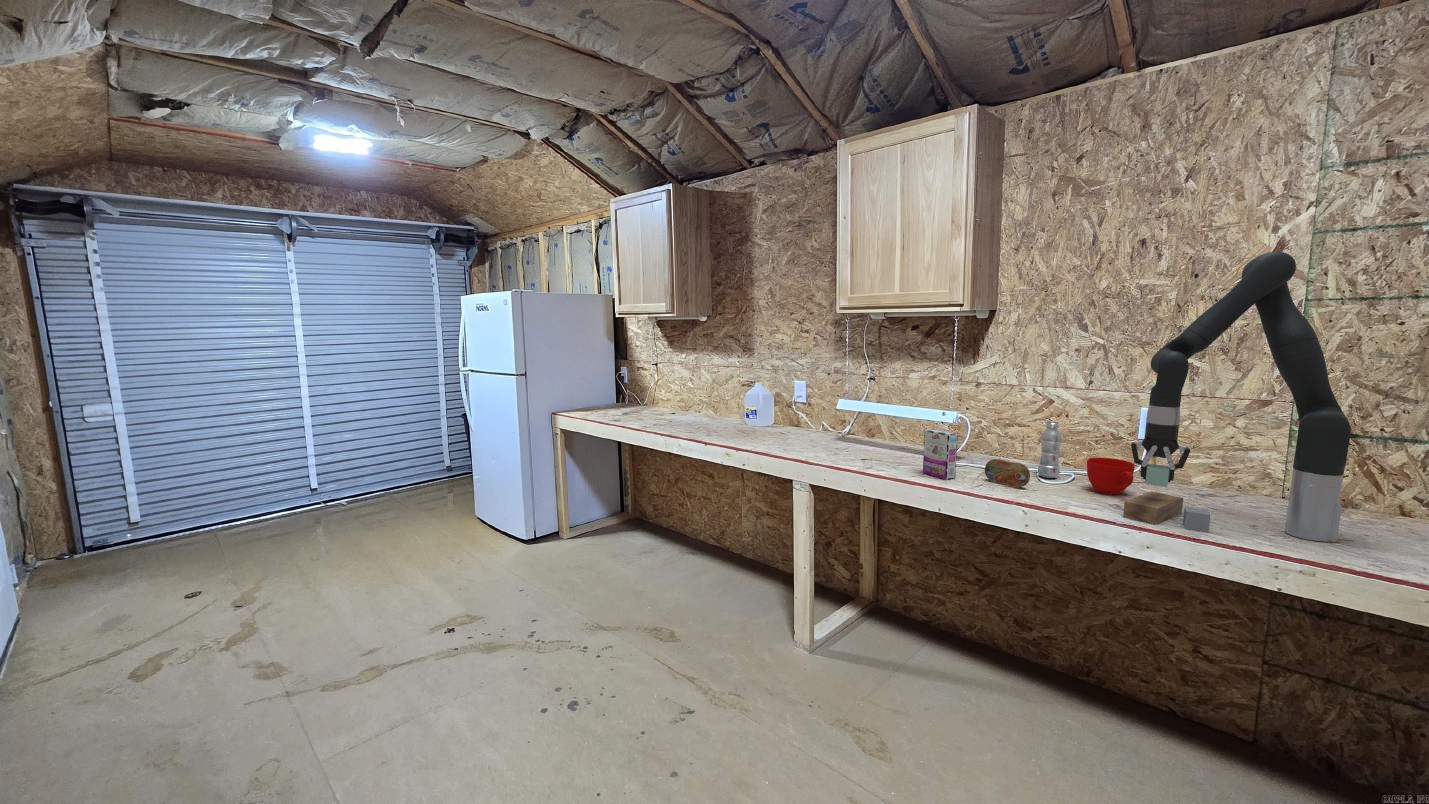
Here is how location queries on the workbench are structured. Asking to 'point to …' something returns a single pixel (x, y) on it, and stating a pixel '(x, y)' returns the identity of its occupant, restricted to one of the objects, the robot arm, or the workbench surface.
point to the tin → (1007, 473)
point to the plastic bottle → (1050, 451)
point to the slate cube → (1196, 519)
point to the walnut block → (1153, 507)
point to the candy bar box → (940, 453)
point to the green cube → (1157, 475)
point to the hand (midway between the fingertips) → (1156, 480)
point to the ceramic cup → (1110, 474)
